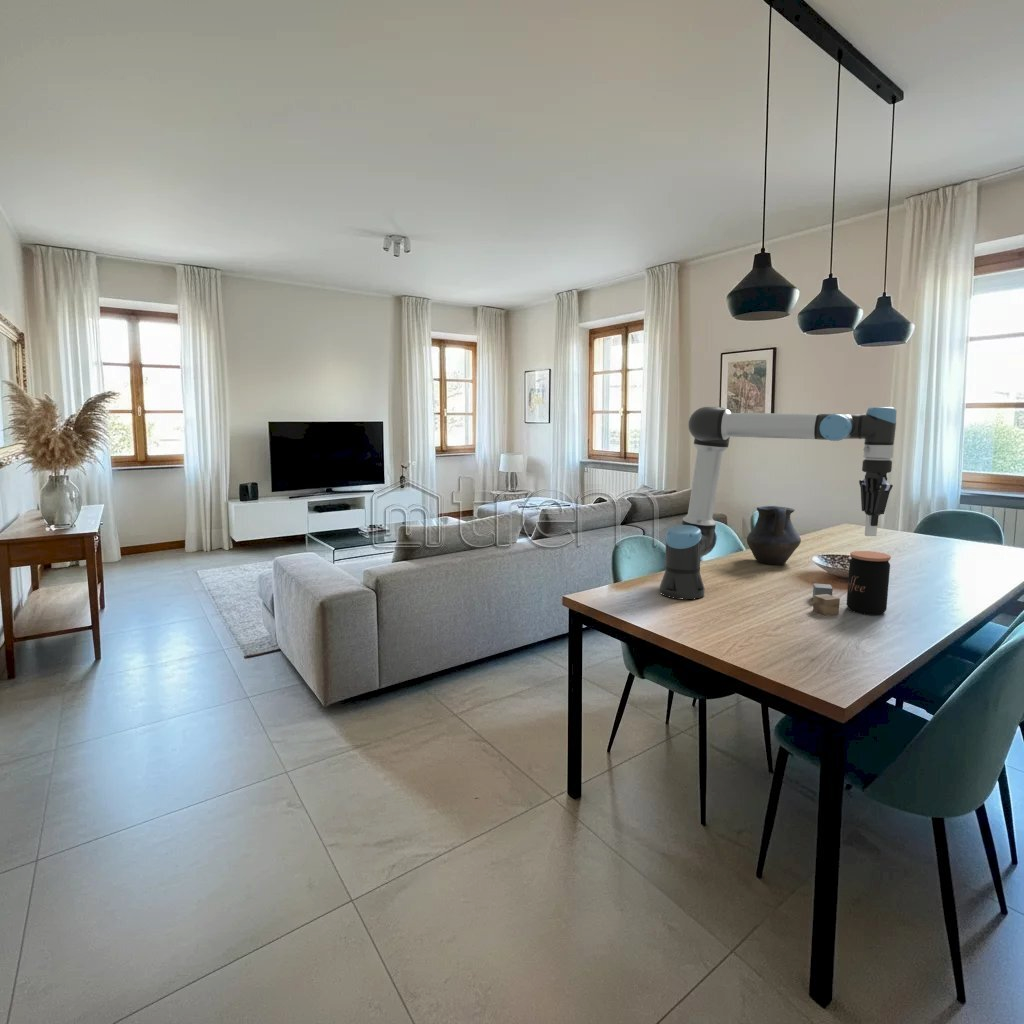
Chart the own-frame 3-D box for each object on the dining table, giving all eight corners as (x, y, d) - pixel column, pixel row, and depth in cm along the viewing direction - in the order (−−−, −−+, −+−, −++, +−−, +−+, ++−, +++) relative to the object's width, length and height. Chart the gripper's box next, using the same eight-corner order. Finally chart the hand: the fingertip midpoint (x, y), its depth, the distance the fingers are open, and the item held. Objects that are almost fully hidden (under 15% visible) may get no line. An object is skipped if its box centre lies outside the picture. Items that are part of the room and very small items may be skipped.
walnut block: (812, 610, 180) (813, 595, 180) (826, 609, 182) (827, 593, 181) (825, 615, 176) (826, 599, 175) (838, 614, 177) (839, 598, 176)
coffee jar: (841, 604, 186) (845, 550, 183) (877, 606, 183) (882, 551, 181) (853, 615, 175) (857, 557, 172) (892, 616, 173) (897, 558, 170)
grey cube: (812, 597, 194) (813, 583, 193) (829, 599, 192) (830, 584, 191) (814, 601, 189) (815, 587, 188) (831, 603, 187) (832, 588, 186)
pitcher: (791, 557, 250) (794, 501, 246) (806, 569, 229) (810, 508, 225) (741, 556, 254) (744, 500, 250) (752, 568, 233) (755, 507, 229)
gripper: (852, 457, 179) (846, 531, 182) (878, 460, 166) (870, 540, 170) (876, 457, 179) (870, 531, 182) (904, 460, 166) (896, 540, 169)
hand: (870, 535), depth 176 cm, fingers closed
